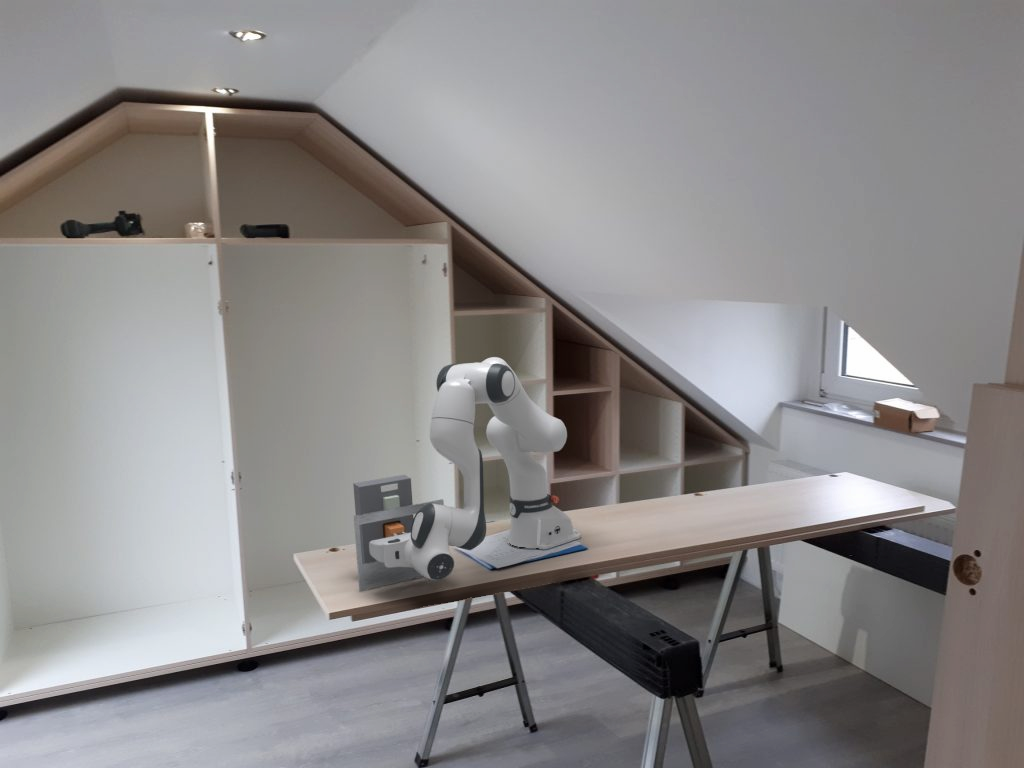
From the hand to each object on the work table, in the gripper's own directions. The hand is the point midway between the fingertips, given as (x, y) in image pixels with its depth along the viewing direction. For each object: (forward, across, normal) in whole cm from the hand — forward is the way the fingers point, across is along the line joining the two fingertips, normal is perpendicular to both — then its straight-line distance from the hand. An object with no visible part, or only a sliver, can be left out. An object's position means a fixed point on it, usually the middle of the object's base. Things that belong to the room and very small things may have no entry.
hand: (398, 535), depth 230 cm
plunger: (+4, 0, +2) cm, 4 cm away
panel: (+7, +1, +12) cm, 14 cm away
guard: (+1, 0, +12) cm, 12 cm away
